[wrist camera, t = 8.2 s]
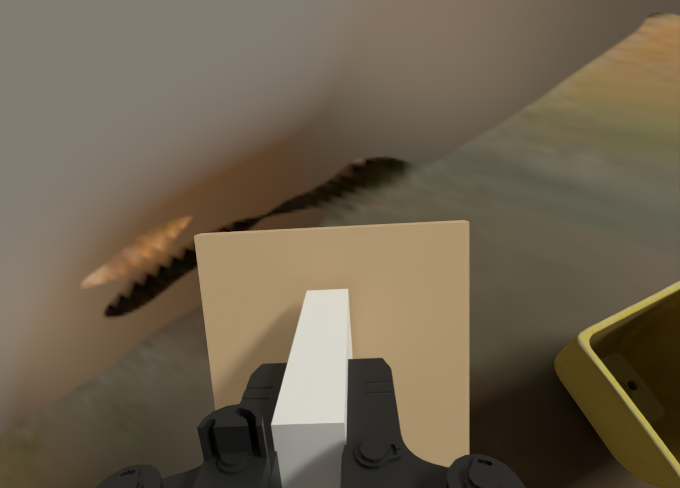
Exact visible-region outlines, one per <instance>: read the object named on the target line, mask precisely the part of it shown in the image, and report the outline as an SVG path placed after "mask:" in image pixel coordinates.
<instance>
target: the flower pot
mask: <svg viewBox="0 0 680 488" xmlns="http://www.w3.org/2000/svg"><path fill="white" fill-rule="evenodd" d="M554 366H555V371H556V374H557V375H558V377H559V379H560V380H561V382H562V384H563V385H564V386H565V388H566V389H567V391H568V392H569V393H570V395H571V396H572V398H573V399H574V401H575V402H576V403H577V405H578V406H579V408H580V409H581V411H582V412H583V413H584V415H585V416H586V418H587V419H588V421H589V422H590V423H591V425H592V426H593V428H594V429H595V431H596V432H597V433H598V435H599V436H600V438H601V439H602V441H603V442H604V444H605V445H606V447H607V448H608V449H609V451H610V452H611V454H612V455H613V456H614V457H615V459H616V460H617V461H618V462H619V463H620V464H621V465H622V466H623V467H624V468H625V469H626V470H627V471H628V472H630V473H631V474H632V475H634V476H635V477H637V478H638V479H640V480H642V481H644V482H647V483H649V484H652V485H655V486H657V487H660V488H680V281H678V282H676V283H674V284H673V285H671V286H669V287H667V288H665V289H663V290H661V291H659V292H657V293H656V294H654V295H652V296H650V297H648V298H646V299H644V300H642V301H640V302H638V303H636V304H634V305H632V306H630V307H628V308H626V309H624V310H622V311H620V312H619V313H617V314H615V315H613V316H611V317H609V318H607V319H605V320H603V321H601V322H599V323H597V324H595V325H593V326H591V327H588V328H587V329H585V330H583V331H581V332H580V333H579V334H578V335H577V336H576V337H575V338H574V339H572V340H571V341H570V342H569V343H568V344H567V345H566V346H565V347H564V348H563V349H562V350H561V351H560V352H559V354H558V355H557V356H556V359H555V363H554ZM628 382H633V383H634V384H635V386H636V388H635V390H631V389H630V388H629V387H628Z"/></svg>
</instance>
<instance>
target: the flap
mask: <svg viewBox="0 0 680 488" xmlns="http://www.w3.org/2000/svg"><path fill="white" fill-rule="evenodd" d="M194 239H195V247H196V255H197V263H198V272H199V280H200V288H201V296H202V304H203V313H204V321H205V329H206V337H207V346H208V354H209V362H210V370H211V378H212V387H213V395H214V403H215V411H216V410H218V409H220V408H223V407H225V406H229V405H235V404H240V401H242V396H243V393H244V391H245V390H246V386H247V383H248V381H249V378H250V376H251V374H252V373H253V372H254V371H255V370H256V369H257V368H258V367H259V366H260V365H261V364H268V363H288V359H289V356H290V352H291V348H292V344H293V341H294V337H295V333H296V329H297V326H298V322H299V318H300V314H301V311H302V307H303V303H304V299H305V296H306V292H307V291H311V290H332V289H348V295H349V310H350V325H351V340H352V359H362V358H383V359H384V360H385V361H386V363H387V364H388V365H389V366H390V367H391V370H392V377H393V383H394V390H395V397H396V403H397V410H398V416H399V423H400V430H401V435H402V439H403V442H404V443H405V445H406V446H407V448H408V449H409V450H410V451H411V452H412V453H413V454H414V455H416V456H418V457H419V458H421V459H423V460H425V461H428V462H430V463H433V464H437V465H441V466H445V467H450V465H451V464H452V463H453V462H454V460H455V459H457V458H460V457H462V456H464V455H469V222H468V221H465V220H459V221H439V222H419V223H399V224H379V225H360V226H340V227H320V228H300V229H281V230H261V231H241V232H221V233H201V234H198V235H195V236H194Z"/></svg>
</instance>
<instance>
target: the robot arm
mask: <svg viewBox="0 0 680 488" xmlns="http://www.w3.org/2000/svg"><path fill="white" fill-rule="evenodd" d="M197 429H198V433H199V438H200V443H201V447H202V452H203V457H204V462H203V464H202V465H201V466H199V467H197V468H195V469H192V470H190V471H187V472H184V473H180V474H177V475H174V476H170V477H167V478H164V479H162V478H161V476H160V474H159V472H158V470H157V469H156V468H154V467H152V466H149V465H135V466H131V467H128V468H124V469H122V470H120V471H118V472H116V473H115V474H113V475H111V476H109V477H108V478H107V479H106V480H104V481H103V482H102V483H101V484H100V485H98V486H97V487H96V488H526V487H525V486H524V484H523V483H522V482H521V480H520V479H519V478H518V476H517V475H516V474H515V473H514V472H513V471H512V470H511V469H510V468H509V467H508V466H507V465H506V464H504V463H502V462H500V461H499V460H497V459H495V458H493V457H490V456H485V455H481V454H470V455H464V456H462V457H460V458H457V459H455V460H454V462H453V463H452V464H451V465H450V467H445V466H441V465H437V464H433V463H430V462H428V461H425V460H423V459H421V458H419V457H418V456H416V455H414V454H413V453H412V452H411V451H410V450H409V449H408V448H407V446H406V445H405V443H404V442H403V439H402V435H401V430H400V423H399V416H398V410H397V403H396V397H395V390H394V383H393V377H392V370H391V367H390V366H389V365H388V364H387V363H386V361H385V360H384V359H383V358H362V359H352V340H351V325H350V310H349V295H348V289H332V290H311V291H307V292H306V296H305V299H304V303H303V307H302V311H301V314H300V318H299V322H298V326H297V329H296V333H295V337H294V341H293V344H292V348H291V352H290V356H289V359H288V363H268V364H261V365H260V366H259V367H258V368H257V369H256V370H255V371H254V372H253V373H252V374H251V376H250V378H249V381H248V383H247V386H246V390H245V391H244V393H243V396H242V401H240V404H235V405H229V406H225V407H223V408H220V409H218V410H216V411H214V412H212V413H211V414H210V415H208V416H207V417H206V418H204V419H203V421H202V422H201V423H200V425H199V426H198V427H197Z"/></svg>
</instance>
